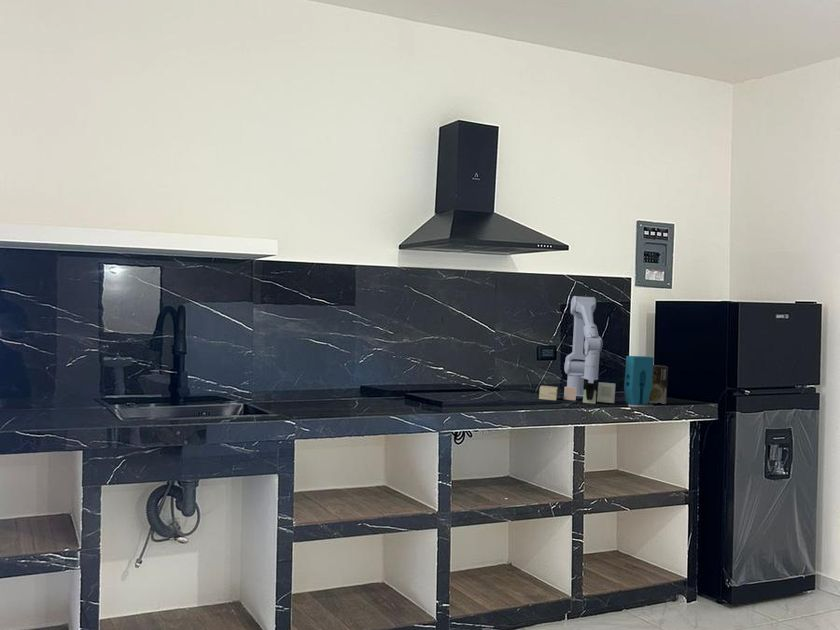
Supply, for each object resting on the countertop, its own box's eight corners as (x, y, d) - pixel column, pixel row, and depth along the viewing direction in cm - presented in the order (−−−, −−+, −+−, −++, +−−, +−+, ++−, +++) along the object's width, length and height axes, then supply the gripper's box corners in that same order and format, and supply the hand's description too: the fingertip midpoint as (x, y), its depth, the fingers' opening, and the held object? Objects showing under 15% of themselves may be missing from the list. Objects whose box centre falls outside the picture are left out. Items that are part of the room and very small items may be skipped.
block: (642, 402, 376) (646, 356, 375) (651, 404, 371) (654, 357, 371) (621, 403, 370) (625, 355, 369) (630, 404, 365) (633, 357, 365)
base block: (540, 397, 372) (541, 385, 372) (556, 398, 371) (557, 387, 371) (538, 399, 365) (539, 387, 365) (555, 400, 364) (556, 388, 364)
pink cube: (563, 398, 374) (564, 386, 374) (575, 399, 373) (576, 387, 373) (563, 399, 369) (564, 387, 369) (575, 400, 369) (576, 388, 368)
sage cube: (582, 401, 367) (583, 389, 367) (595, 402, 366) (595, 390, 366) (583, 402, 362) (583, 390, 362) (595, 403, 361) (596, 391, 361)
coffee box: (663, 402, 382) (666, 365, 381) (666, 404, 375) (668, 367, 375) (642, 401, 383) (644, 364, 382) (644, 402, 376) (647, 365, 376)
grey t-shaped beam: (597, 400, 372) (598, 381, 372) (613, 402, 371) (615, 383, 371) (597, 401, 368) (598, 382, 368) (614, 403, 367) (615, 384, 367)
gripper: (581, 364, 372) (579, 396, 372) (582, 367, 357) (579, 400, 358) (598, 365, 370) (596, 397, 371) (599, 368, 356) (597, 401, 356)
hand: (589, 398), depth 364 cm, fingers closed on sage cube, 5 cm apart
